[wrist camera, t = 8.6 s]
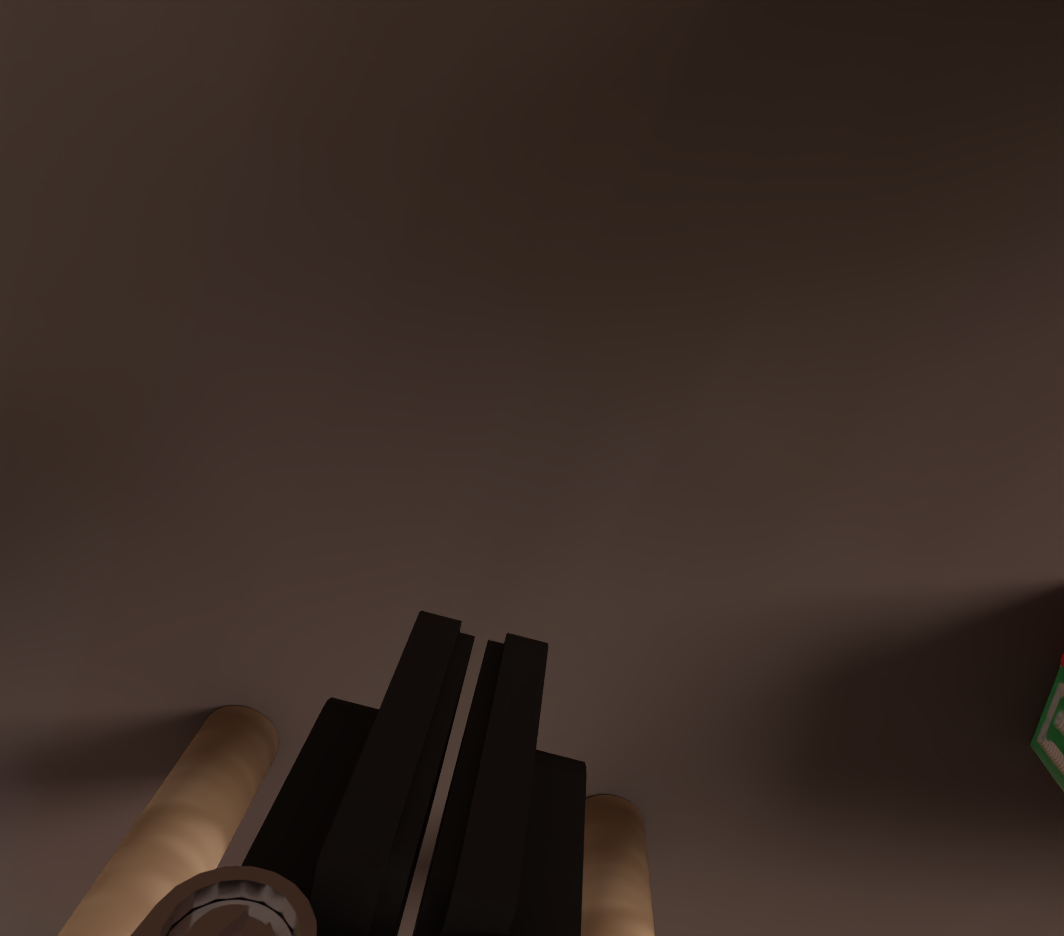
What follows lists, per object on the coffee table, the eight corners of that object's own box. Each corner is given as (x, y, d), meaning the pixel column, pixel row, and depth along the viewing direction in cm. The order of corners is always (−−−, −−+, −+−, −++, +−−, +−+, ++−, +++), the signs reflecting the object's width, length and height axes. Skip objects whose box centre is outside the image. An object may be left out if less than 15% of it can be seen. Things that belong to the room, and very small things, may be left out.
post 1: (283, 716, 28) (151, 956, 19) (273, 777, 29) (142, 1032, 20) (207, 697, 28) (40, 930, 19) (199, 759, 29) (36, 1008, 20)
